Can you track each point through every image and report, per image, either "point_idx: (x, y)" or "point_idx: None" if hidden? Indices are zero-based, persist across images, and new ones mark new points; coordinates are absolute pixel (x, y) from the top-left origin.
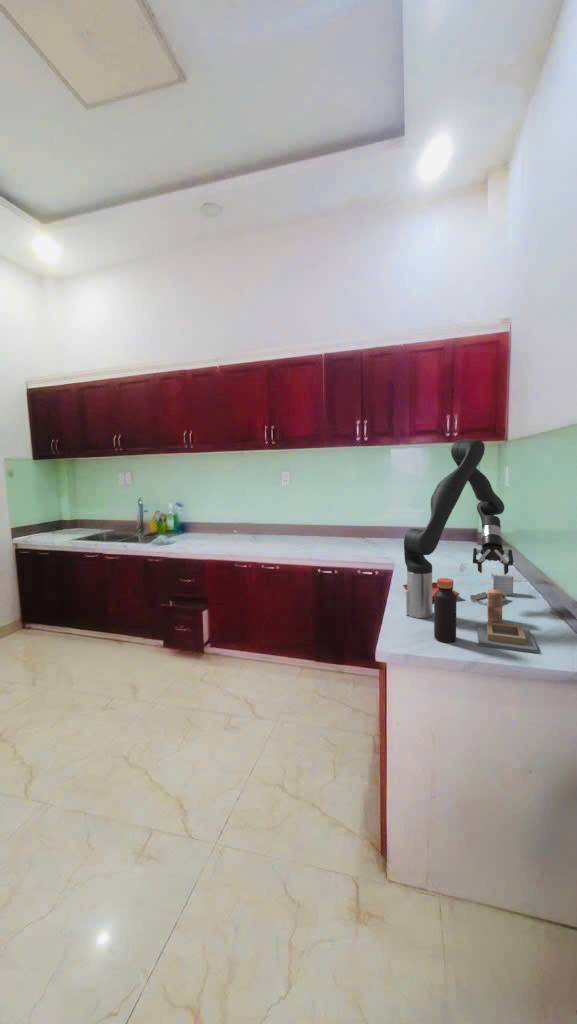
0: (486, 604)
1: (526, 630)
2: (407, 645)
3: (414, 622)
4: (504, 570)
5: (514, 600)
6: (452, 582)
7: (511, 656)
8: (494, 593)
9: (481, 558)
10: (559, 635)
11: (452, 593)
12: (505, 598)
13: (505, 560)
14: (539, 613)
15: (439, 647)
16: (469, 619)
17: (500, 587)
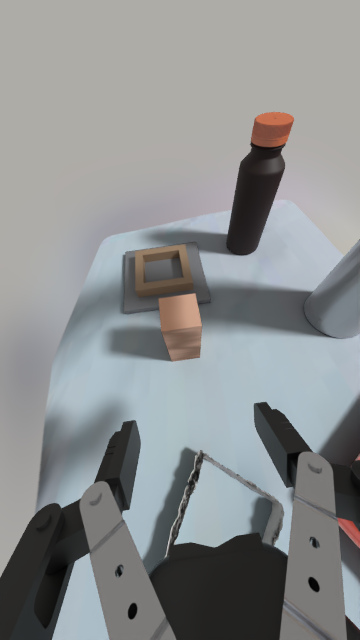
0: (216, 463)
1: (129, 305)
2: (274, 215)
3: (312, 275)
4: (133, 435)
5: None
6: (254, 121)
7: (157, 238)
8: (179, 296)
9: (317, 499)
10: (79, 323)
11: (247, 155)
12: None
13: (95, 519)
14: (78, 451)
15: None
16: (231, 330)
17: None
